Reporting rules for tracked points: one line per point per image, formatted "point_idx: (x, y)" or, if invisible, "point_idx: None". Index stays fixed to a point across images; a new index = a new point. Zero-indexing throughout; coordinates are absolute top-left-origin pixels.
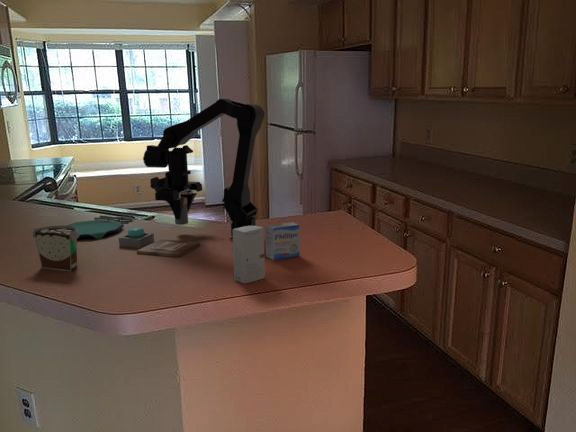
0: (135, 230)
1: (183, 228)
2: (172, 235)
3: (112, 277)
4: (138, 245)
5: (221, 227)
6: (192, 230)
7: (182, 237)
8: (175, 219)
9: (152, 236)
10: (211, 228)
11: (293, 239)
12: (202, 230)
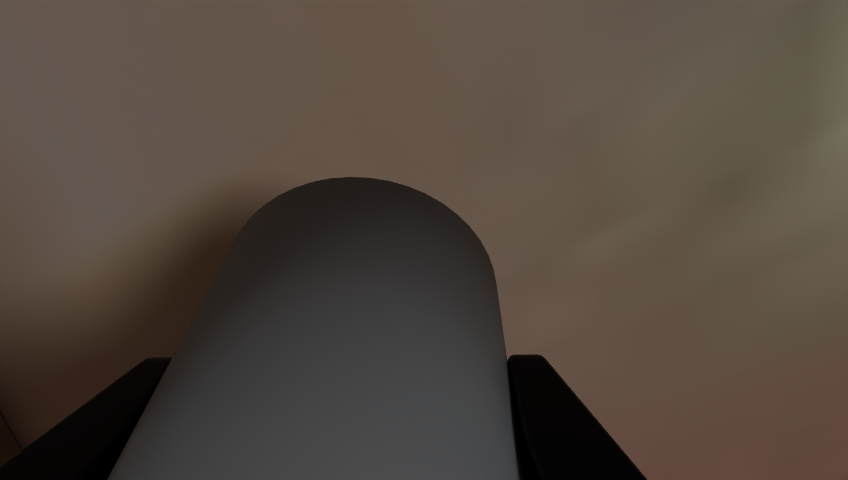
0: None
1: (722, 26)
2: (221, 102)
3: None
4: None
5: (789, 474)
6: (597, 239)
7: (203, 292)
8: (203, 301)
9: None
10: (735, 405)
11: None
12: (616, 355)
